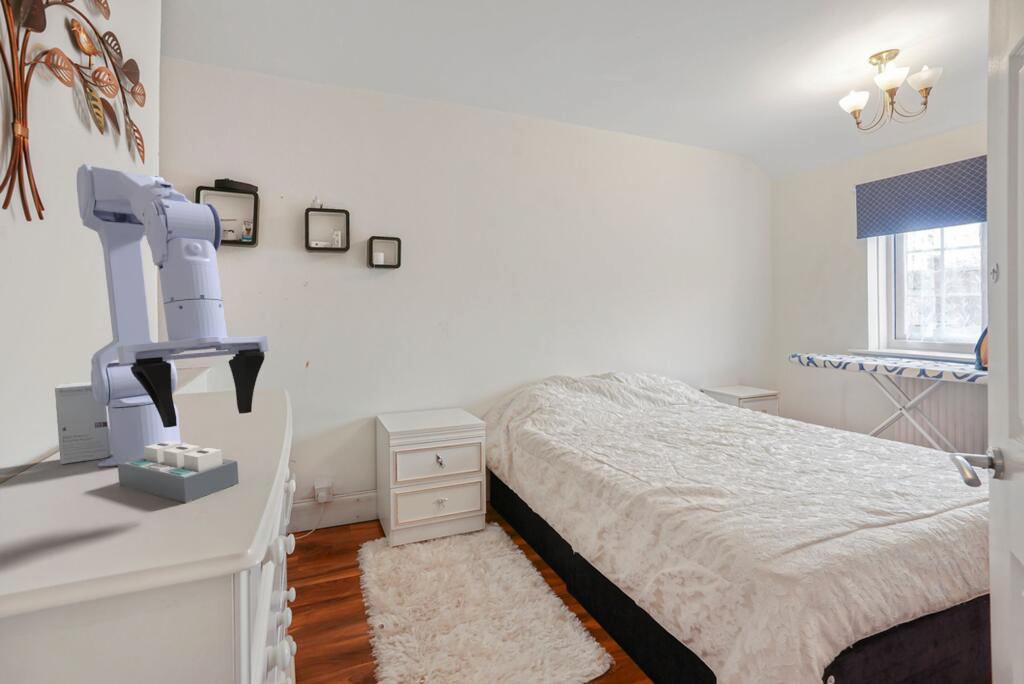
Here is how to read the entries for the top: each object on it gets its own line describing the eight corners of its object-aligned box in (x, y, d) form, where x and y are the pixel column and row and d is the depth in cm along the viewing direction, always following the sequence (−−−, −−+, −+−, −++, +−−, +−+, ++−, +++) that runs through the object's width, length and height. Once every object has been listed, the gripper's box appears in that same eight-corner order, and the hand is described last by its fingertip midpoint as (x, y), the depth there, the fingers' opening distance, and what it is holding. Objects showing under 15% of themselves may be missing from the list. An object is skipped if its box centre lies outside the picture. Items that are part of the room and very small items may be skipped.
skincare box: (59, 465, 71) (51, 387, 70) (67, 458, 75) (59, 384, 74) (112, 457, 75) (104, 382, 74) (116, 450, 78) (109, 379, 77)
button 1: (145, 461, 63) (144, 446, 63) (169, 455, 66) (168, 440, 66) (158, 464, 62) (156, 448, 62) (182, 457, 64) (180, 442, 64)
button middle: (164, 466, 61) (163, 449, 61) (188, 458, 64) (187, 443, 64) (177, 468, 60) (176, 452, 60) (201, 461, 63) (200, 445, 62)
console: (119, 485, 62) (117, 461, 62) (173, 468, 68) (171, 447, 68) (185, 503, 56) (183, 476, 55) (238, 483, 61) (237, 459, 61)
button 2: (184, 470, 59) (183, 453, 59) (208, 462, 62) (207, 446, 62) (198, 473, 58) (197, 456, 58) (222, 465, 61) (221, 449, 60)
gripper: (122, 297, 46) (140, 434, 46) (273, 297, 57) (288, 406, 57) (107, 309, 50) (123, 434, 50) (249, 307, 61) (263, 408, 61)
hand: (209, 419), depth 54 cm, fingers open, 7 cm apart
